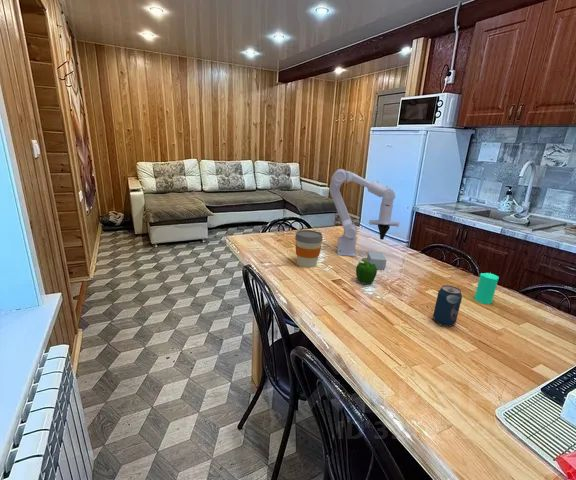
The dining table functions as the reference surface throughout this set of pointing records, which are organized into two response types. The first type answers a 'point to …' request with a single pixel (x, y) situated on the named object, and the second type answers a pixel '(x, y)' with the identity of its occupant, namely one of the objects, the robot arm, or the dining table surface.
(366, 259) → the flat gray panel
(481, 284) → the candle
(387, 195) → the robot arm
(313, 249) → the reusable coffee cup
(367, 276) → the bell pepper
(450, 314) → the soda can
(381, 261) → the slab
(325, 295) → the dining table surface
